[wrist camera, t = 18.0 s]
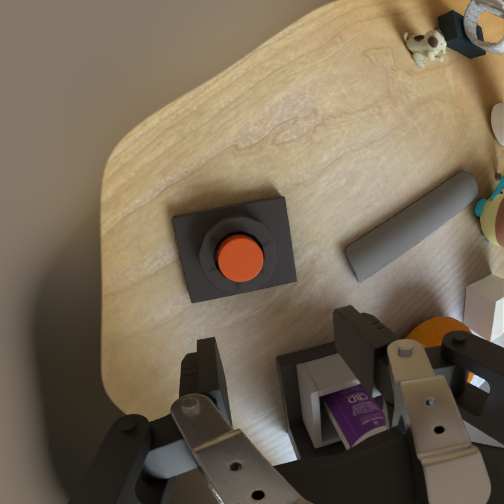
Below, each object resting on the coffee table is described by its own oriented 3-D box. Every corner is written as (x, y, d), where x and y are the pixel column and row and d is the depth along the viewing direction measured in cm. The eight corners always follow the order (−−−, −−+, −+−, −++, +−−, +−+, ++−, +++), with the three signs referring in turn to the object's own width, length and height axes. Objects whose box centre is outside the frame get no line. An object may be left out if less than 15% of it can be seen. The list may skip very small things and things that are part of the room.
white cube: (491, 273, 36) (520, 286, 30) (488, 310, 37) (515, 325, 32) (465, 286, 35) (496, 301, 30) (462, 324, 37) (490, 342, 31)
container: (346, 359, 32) (418, 453, 18) (359, 385, 33) (423, 474, 19) (309, 381, 32) (365, 486, 18) (324, 405, 33) (376, 503, 19)
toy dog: (422, 72, 28) (450, 62, 23) (395, 39, 27) (420, 25, 22) (435, 58, 28) (461, 48, 23) (409, 27, 26) (433, 13, 21)
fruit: (368, 383, 36) (406, 432, 26) (407, 300, 34) (461, 336, 24) (427, 386, 39) (465, 424, 29) (463, 314, 36) (511, 344, 27)
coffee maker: (288, 434, 36) (319, 518, 23) (275, 356, 33) (315, 451, 19) (372, 407, 38) (421, 477, 24) (375, 328, 34) (447, 397, 21)
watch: (464, 21, 27) (518, 0, 16) (472, 70, 28) (532, 56, 18) (435, 5, 26) (489, -23, 15) (442, 55, 28) (505, 34, 17)
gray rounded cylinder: (472, 199, 32) (482, 201, 31) (355, 284, 32) (362, 290, 31) (463, 168, 31) (473, 169, 30) (339, 250, 31) (347, 254, 29)
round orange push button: (221, 279, 27) (223, 286, 26) (213, 238, 26) (214, 243, 25) (262, 271, 28) (266, 277, 26) (256, 230, 27) (259, 234, 25)
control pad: (191, 298, 30) (191, 311, 27) (172, 216, 28) (169, 221, 25) (293, 277, 31) (302, 287, 28) (281, 195, 29) (290, 198, 26)
